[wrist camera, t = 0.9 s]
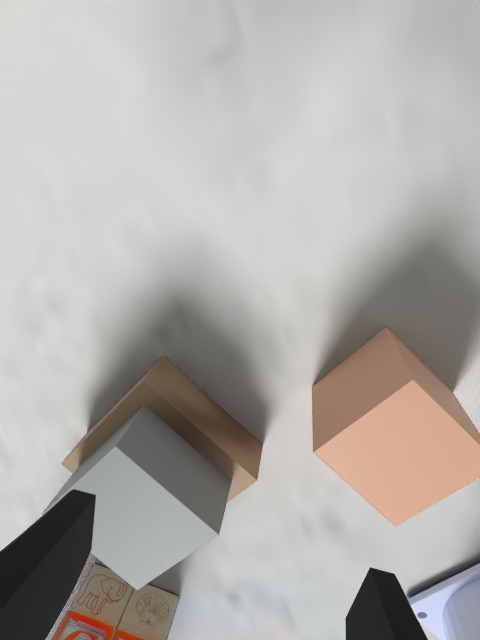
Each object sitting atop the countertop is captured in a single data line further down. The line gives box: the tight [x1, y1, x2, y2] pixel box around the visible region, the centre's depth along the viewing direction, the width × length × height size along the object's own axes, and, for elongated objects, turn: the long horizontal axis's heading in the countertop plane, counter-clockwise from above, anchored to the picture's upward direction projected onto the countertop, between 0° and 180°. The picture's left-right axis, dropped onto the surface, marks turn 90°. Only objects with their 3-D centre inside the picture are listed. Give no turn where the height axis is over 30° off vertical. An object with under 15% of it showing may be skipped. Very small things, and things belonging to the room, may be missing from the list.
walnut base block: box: [61, 356, 263, 502], centre depth 21 cm, size 7×7×3 cm
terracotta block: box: [312, 327, 480, 527], centre depth 17 cm, size 4×4×5 cm
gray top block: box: [42, 405, 232, 590], centre depth 18 cm, size 6×6×3 cm
